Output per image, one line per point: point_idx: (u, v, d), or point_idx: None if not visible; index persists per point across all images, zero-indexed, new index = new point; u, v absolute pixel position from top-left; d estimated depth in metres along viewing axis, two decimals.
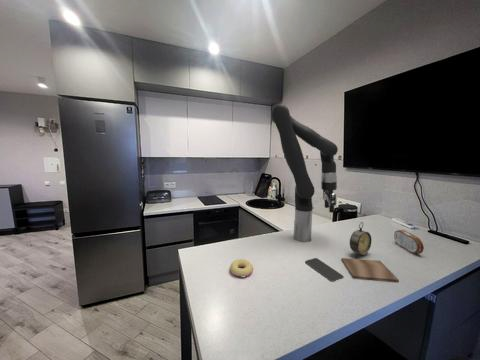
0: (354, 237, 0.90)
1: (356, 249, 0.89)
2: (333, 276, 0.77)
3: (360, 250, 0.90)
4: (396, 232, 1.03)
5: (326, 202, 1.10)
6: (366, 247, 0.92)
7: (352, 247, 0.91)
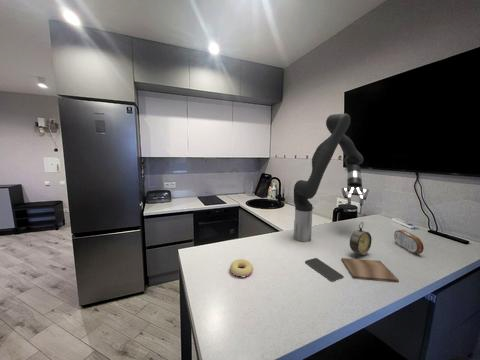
0: (354, 237, 0.90)
1: (356, 249, 0.89)
2: (333, 276, 0.77)
3: (360, 250, 0.90)
4: (396, 232, 1.03)
5: (350, 199, 1.10)
6: (366, 247, 0.92)
7: (352, 247, 0.91)
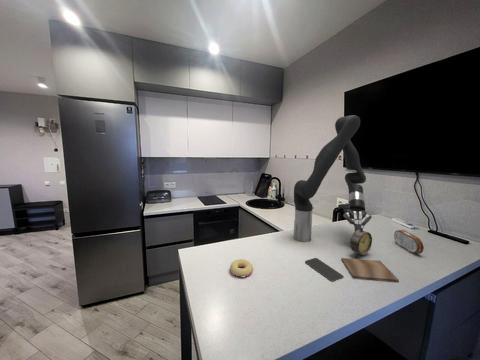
0: (355, 237, 0.90)
1: (356, 249, 0.89)
2: (333, 276, 0.77)
3: (360, 250, 0.90)
4: (396, 232, 1.03)
5: None
6: (366, 247, 0.92)
7: (352, 247, 0.90)
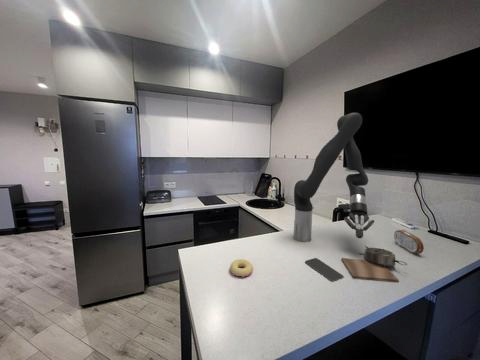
0: (383, 259, 0.81)
1: (368, 259, 0.85)
2: (333, 276, 0.77)
3: None
4: (396, 232, 1.03)
5: None
6: None
7: (369, 255, 0.85)
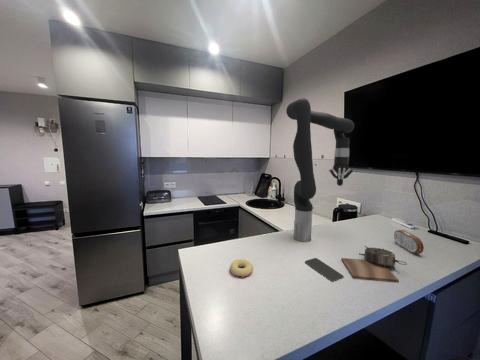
0: (383, 259, 0.81)
1: (368, 259, 0.85)
2: (333, 276, 0.77)
3: None
4: (396, 232, 1.03)
5: None
6: None
7: (369, 255, 0.85)
